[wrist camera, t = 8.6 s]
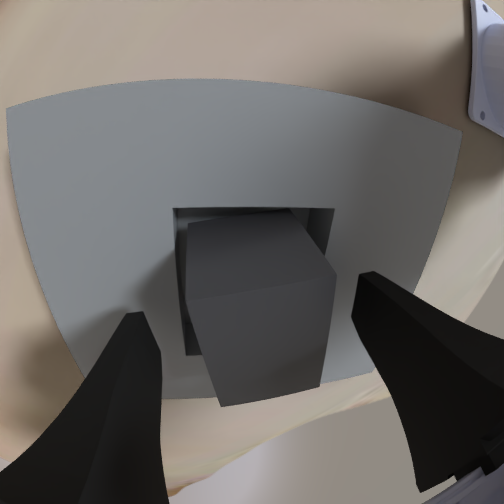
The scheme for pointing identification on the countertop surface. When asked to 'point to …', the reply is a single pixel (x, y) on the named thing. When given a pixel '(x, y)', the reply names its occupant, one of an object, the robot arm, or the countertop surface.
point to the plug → (259, 304)
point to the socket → (216, 200)
